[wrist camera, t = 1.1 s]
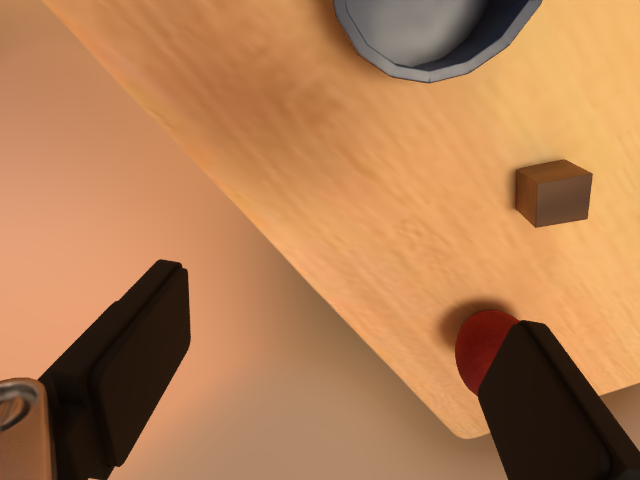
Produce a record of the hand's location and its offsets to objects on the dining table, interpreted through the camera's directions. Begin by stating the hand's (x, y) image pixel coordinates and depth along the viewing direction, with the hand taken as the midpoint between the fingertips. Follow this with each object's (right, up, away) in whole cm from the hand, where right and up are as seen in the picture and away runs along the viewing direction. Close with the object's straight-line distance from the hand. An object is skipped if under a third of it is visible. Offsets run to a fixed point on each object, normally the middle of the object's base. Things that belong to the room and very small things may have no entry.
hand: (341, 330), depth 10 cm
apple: (+20, -8, +35) cm, 41 cm away
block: (+22, +8, +25) cm, 35 cm away
